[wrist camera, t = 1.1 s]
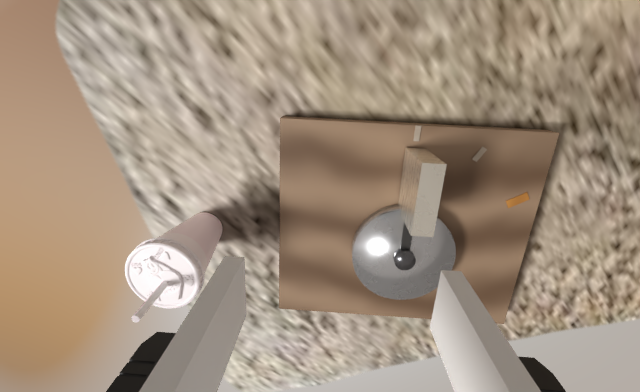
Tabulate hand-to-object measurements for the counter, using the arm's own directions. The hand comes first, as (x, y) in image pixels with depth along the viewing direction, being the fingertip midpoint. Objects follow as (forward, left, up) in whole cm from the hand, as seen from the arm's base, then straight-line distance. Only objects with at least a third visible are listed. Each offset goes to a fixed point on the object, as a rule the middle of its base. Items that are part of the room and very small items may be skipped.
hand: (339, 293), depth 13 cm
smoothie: (+8, -14, -21) cm, 27 cm away
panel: (+6, +7, -21) cm, 23 cm away
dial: (+5, +7, -19) cm, 21 cm away
